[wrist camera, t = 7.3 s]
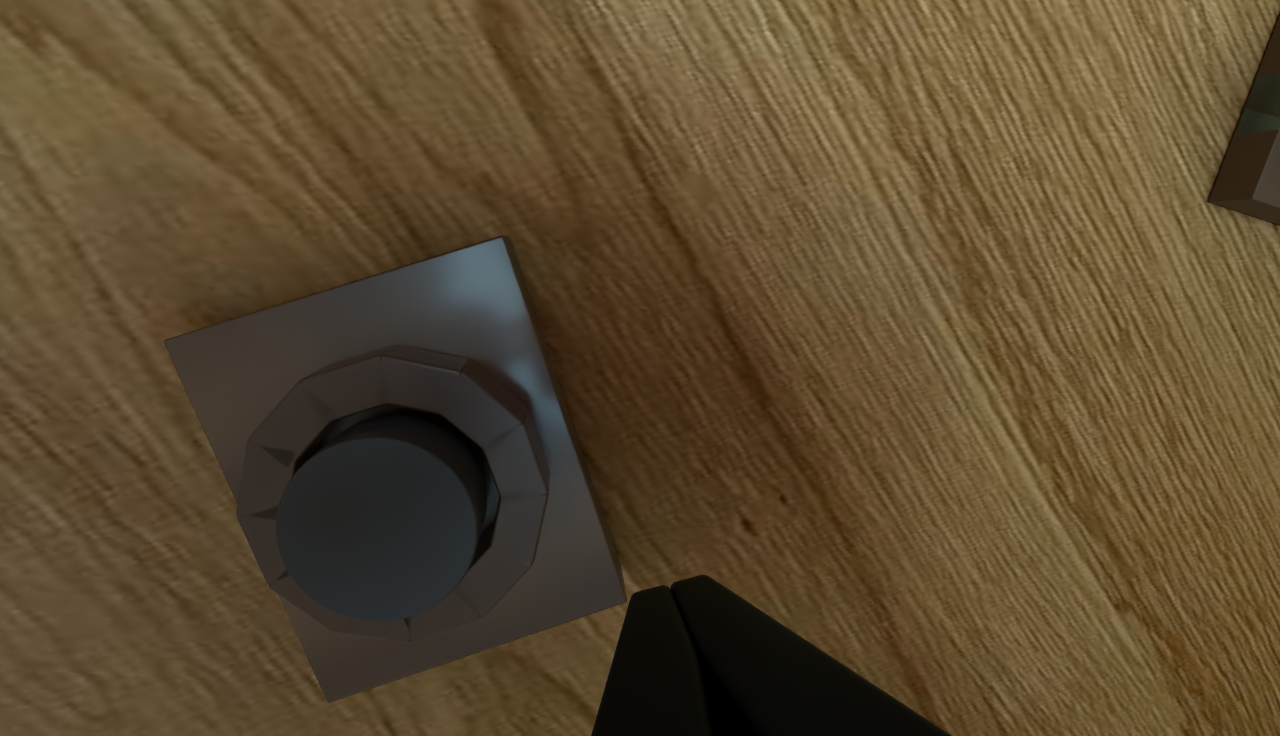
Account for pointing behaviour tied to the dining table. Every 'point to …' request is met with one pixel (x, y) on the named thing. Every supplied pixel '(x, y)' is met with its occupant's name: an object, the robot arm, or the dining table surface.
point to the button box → (427, 389)
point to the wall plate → (1256, 147)
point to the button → (383, 519)
